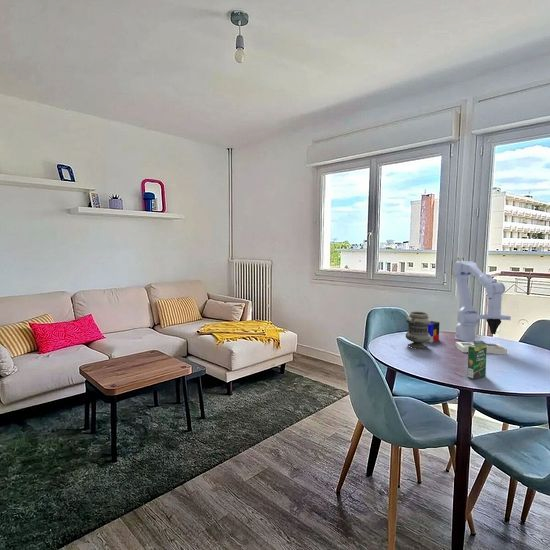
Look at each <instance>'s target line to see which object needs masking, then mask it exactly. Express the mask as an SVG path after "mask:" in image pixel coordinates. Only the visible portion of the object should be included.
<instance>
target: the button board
mask: <svg viewBox="0 0 550 550" xmlns="http://www.w3.org/2000/svg"><path fill="white" fill-rule="evenodd" d="M461 343H470V344H471V345H462V344H461ZM485 343H486V344H496V345H497V346H488V345H487V352H486V354H490V353H494V355H497V354H498V355H508V348H507V347H504V346H503V345H502V344H499V343H491V342H490V343H489V342H485ZM472 345H474V342H465V341H455V347H456V348H457V349H458V351H460V352H462V353H467V352H468V347H469V346H472ZM498 346H499V347H498Z"/></svg>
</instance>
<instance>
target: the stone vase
mask: <svg viewBox="0 0 550 550" xmlns="http://www.w3.org/2000/svg"><path fill="white" fill-rule="evenodd" d="M431 321H432V320H431V318H429V316H428V312H424V311H419V310H418V311H415V310H414V311H411V312H410V313H409V315H408V316H407V318H406V322H407V323H408V329H407V330H408V331H406V333H405V338H406V340H408V341H409V342H411V343H408V344H407V345H408V346H410V347H412V348H416V349H415V350H422V349H424V350H427V349H428V346H427V345H425V344H424V343H428V341H429V340H430V338H431V336H430V334H429V333H428V325H429V324H430V323H431ZM408 346H407V347H408ZM412 348H411V349H412Z"/></svg>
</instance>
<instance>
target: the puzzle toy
mask: <svg viewBox="0 0 550 550" xmlns="http://www.w3.org/2000/svg"><path fill="white" fill-rule="evenodd" d="M428 333H429V334H430V336H431V338H430V340H429V341H428V342H431V343H434V342H436V341H435V340H437V341H439V340H440V321H436V320H435V321H433V320H431V323H430V324H429V325H428ZM438 339H439V340H438ZM433 341H434V342H433ZM428 342H427V343H428Z"/></svg>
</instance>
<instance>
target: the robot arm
mask: <svg viewBox="0 0 550 550" xmlns="http://www.w3.org/2000/svg"><path fill="white" fill-rule="evenodd" d="M452 268H453V272H454V273H453V274H454V277H455V281H456V285H457V291H458V296H459V302H460V308H459V309H458V310H457V321H458V323H457V324H456V326H455V337H454V339H455V340H458V341H460V342H471V343H474V341H480V340H479V339H476V328H477V325H478V323H480V320H485V321H486V323H487V325H488V327H489V330H490V334H491V335H496V333H497V330H498V328H499V326H500V325H501V323H502V320H503V321H505V320H506V321H511V317H512V316H510V315H505V314H504V315H502V298H503V297H502V296H503V294H505V292H506V287H505V284H504V283H503V282H499V281H497V280H496V279H494V278H493V277H491V274H489V273H483V271H481V269H480V268H479V267H478V264H477V263H476V262H475V261H473V260H470V261H459V260H457V261H456V262H455V263H454V265H453V267H452ZM472 275H473V276H475V278H477V279H478V283H479V284H480V285H481V286H482V287H484V288H485V292H486V298H487V312H486V313H487V314H479V312H478V309H477V308H475V307H474V306H473V302H472V299H471V293H470V288H469V283H468V278H470V277H471V276H472Z"/></svg>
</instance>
